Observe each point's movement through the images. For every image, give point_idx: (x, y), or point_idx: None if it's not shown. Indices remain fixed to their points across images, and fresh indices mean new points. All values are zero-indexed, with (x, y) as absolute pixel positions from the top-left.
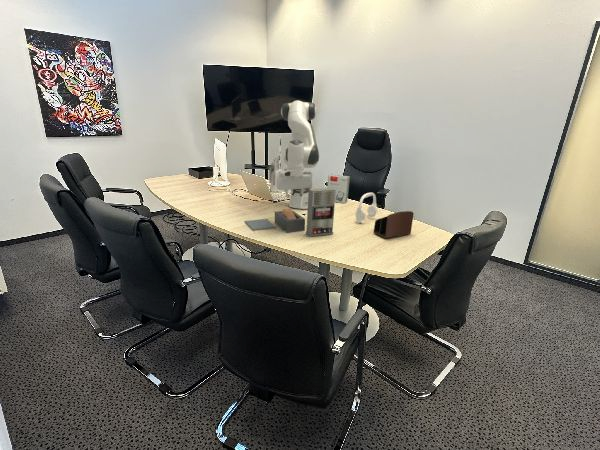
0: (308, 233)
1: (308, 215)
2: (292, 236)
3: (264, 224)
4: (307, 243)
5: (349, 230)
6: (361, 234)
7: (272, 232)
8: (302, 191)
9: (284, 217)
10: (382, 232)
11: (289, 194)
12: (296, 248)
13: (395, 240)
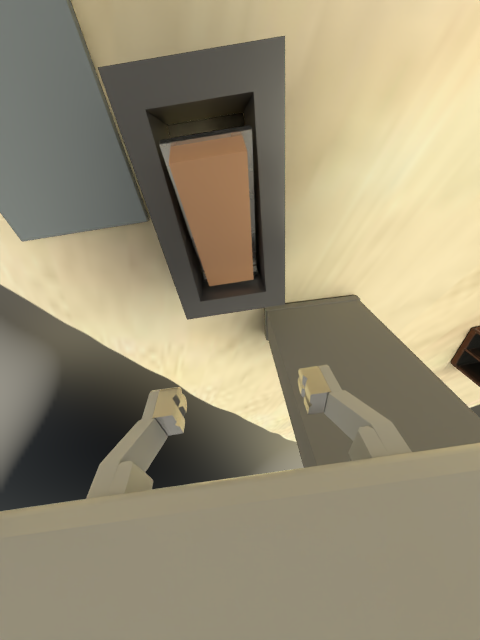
0: (266, 326)
1: (282, 369)
2: (208, 323)
3: (68, 161)
4: (237, 369)
5: (429, 299)
6: (426, 334)
7: (132, 276)
8: (348, 430)
9: (179, 268)
10: (478, 351)
11: (180, 432)
12: (200, 388)
13: (455, 373)
